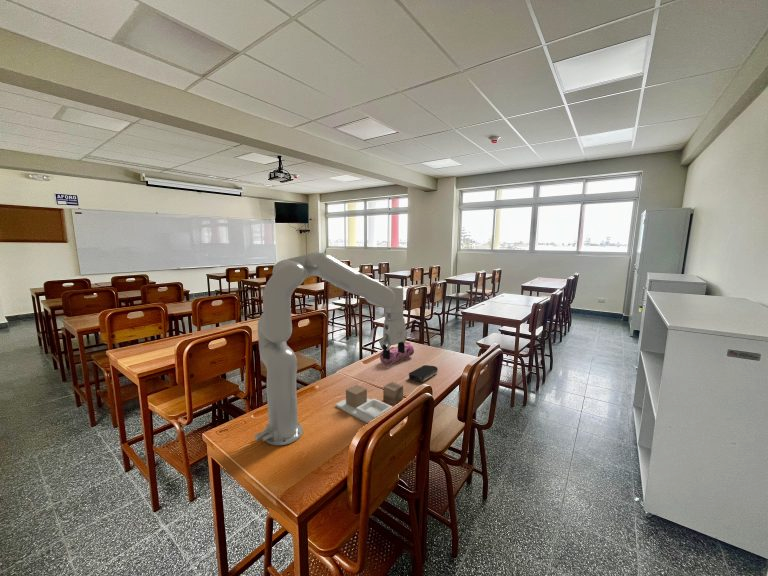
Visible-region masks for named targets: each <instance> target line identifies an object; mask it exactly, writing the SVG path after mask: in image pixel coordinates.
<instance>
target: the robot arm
mask: <svg viewBox="0 0 768 576" xmlns="http://www.w3.org/2000/svg"><path fill="white" fill-rule="evenodd" d="M314 276H316V277H319V278H320V279H323V280H324V281H326V282H328V283H330V284H331V285H334V286H335V287H337V288H339V289H341V290H343V291H345V292H347V293H348V294H349V293H350V294H352V295H356V296H359V297H362V298H364V299H365V301H366V302H367V303H369V304H371V305H373V306H377V307H379V308H383V309H384V321H383V331H382V337H381V338H380V340H379V341H378V342H379V343H378V344H379V346H380V348H381V349H382V351H383V358H384V359H387V360H389V359H390V350H391V349H390V348H391V346H395V345H397V346H398V352H401V353H404V352H405V342H406V340H407V336H408V331H406V329H407V327H406V320H405V317H404V288H403V286H402V285H398V284H397V285H395V284H392V285H391V284H390V285H387V286H386V285H385V284H383V283H381V282H380V281H378V280H376V279H373V278H371V277H369V276H368V275H366V274H364V273H362V272H360V271H359V270H356V269H354V268H352V267H351V266H350V265H348V264H346V263H344V262H342V261H341V260H339V259H338V258H336V257H334V256H332V255H331V254H328V253H326V252H316V251H315V252H310V253H307V254H302V255H299V256H295V257H289V258H287V259H283V260H279V261H278V262H277V263H275V264H274V266H273V268H272V275H271V277H270V278H269V279H268V281H267V282H266V284H265V285H264V288H263V293H262V311H263V312H262V313H261V315H260V316H259V318H258V320H257V336H258V338H257V339H258V340H257V341H258V350H259V357H260V359H261V361H262V363H263V364H264V366H265V368H266V395H267V396H266V398H267V399H266V400H267V418H268V423H267V424H266V425H265V429H263V431H260V432H258V433H256V434H254V439H255V441H257V442H258V441H259V440H261V439H262V441H263V442H266V443H267V444H269V445H271V446H284V445H289V444H292V443H294V442H296V441H297V440H299V439H300V438H301V436H302V435H303V433H304V432H303V431H304V430H303V429H304V428H303V425H302V424H301V423H299V420H298V419H299V417H298V396H297V392H298V391H297V374H298V373H297V372H298V357H297V356H296V354H295V352H294V350H293V349H292V348H291V347H290V346H289V345H288V344H287V341H288V340H289V339H290V338H291V336H292V333H293V323H292V310H291V309H292V308H291V301H292V295H293V293H294V291H295V290H297V288H298V287H300V286H301V284H303V283H304V281H305V280H306V279H307V278H311V277H314Z"/></svg>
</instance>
